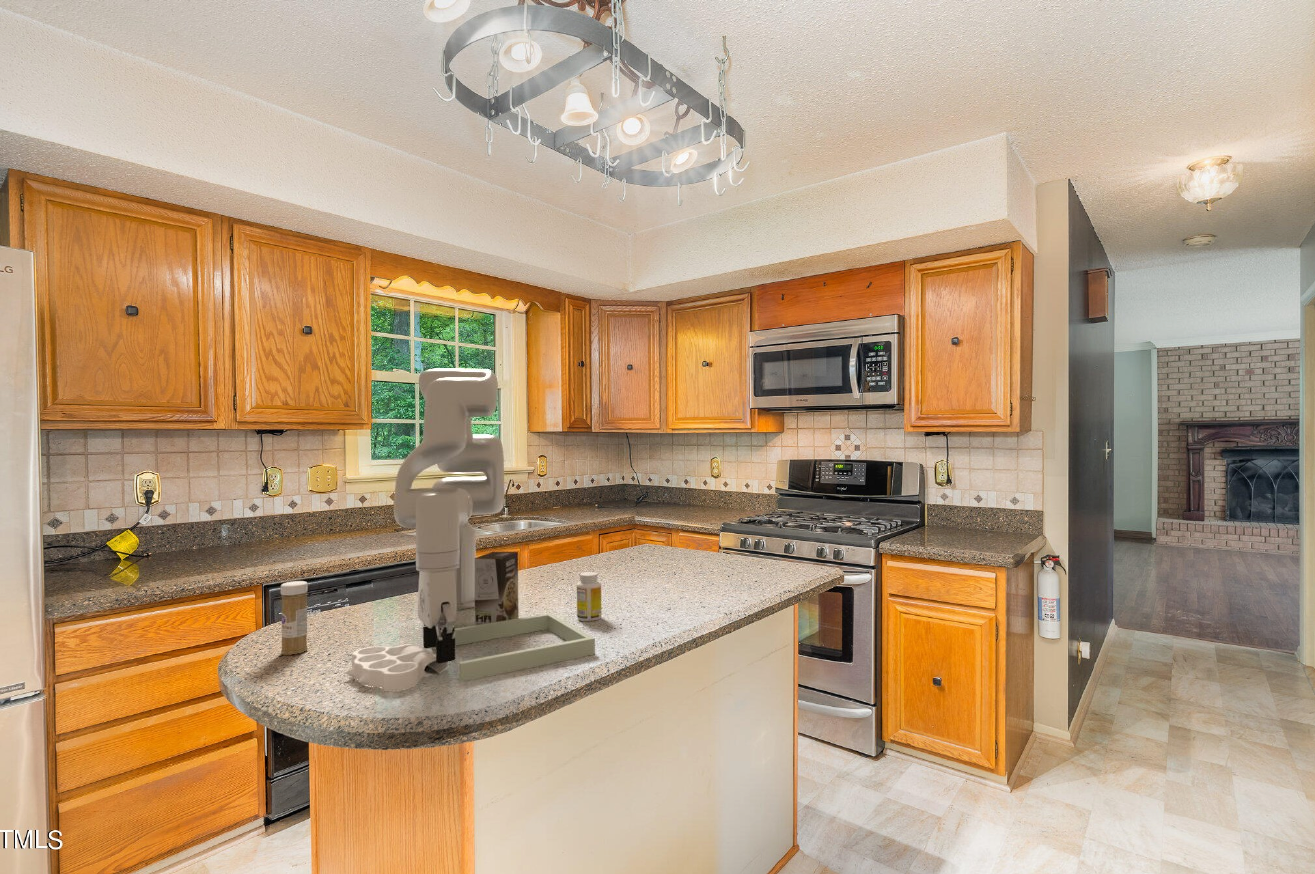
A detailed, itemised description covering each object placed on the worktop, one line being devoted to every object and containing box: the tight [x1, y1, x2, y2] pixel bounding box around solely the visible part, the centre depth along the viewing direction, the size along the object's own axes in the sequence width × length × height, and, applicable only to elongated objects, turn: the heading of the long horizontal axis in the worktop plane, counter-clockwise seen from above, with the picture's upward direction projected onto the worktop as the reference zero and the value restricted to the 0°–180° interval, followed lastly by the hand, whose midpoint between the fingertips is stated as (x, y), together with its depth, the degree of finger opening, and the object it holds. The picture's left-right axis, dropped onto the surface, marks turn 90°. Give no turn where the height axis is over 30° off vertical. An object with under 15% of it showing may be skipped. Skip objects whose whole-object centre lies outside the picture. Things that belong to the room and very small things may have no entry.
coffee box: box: [474, 551, 520, 626], centre depth 140 cm, size 9×6×16 cm
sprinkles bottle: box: [280, 580, 309, 656], centre depth 126 cm, size 5×5×14 cm
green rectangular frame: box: [431, 612, 596, 683], centre depth 125 cm, size 21×25×3 cm
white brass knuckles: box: [343, 643, 449, 692], centre depth 114 cm, size 3×18×15 cm
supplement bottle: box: [576, 571, 603, 622], centre depth 147 cm, size 6×6×10 cm
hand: (438, 654), depth 118 cm, fingers open, 9 cm apart
